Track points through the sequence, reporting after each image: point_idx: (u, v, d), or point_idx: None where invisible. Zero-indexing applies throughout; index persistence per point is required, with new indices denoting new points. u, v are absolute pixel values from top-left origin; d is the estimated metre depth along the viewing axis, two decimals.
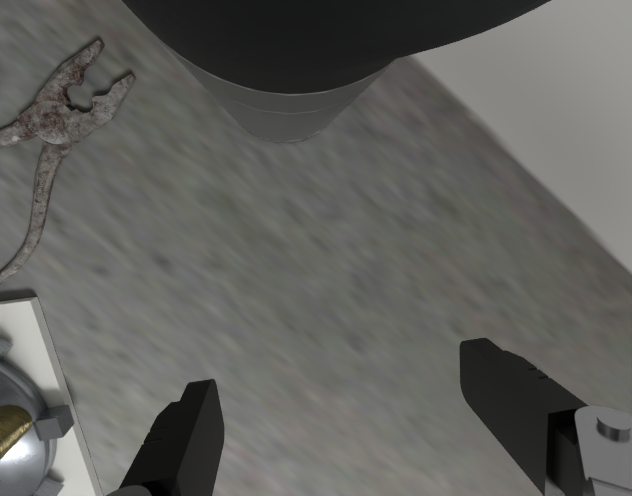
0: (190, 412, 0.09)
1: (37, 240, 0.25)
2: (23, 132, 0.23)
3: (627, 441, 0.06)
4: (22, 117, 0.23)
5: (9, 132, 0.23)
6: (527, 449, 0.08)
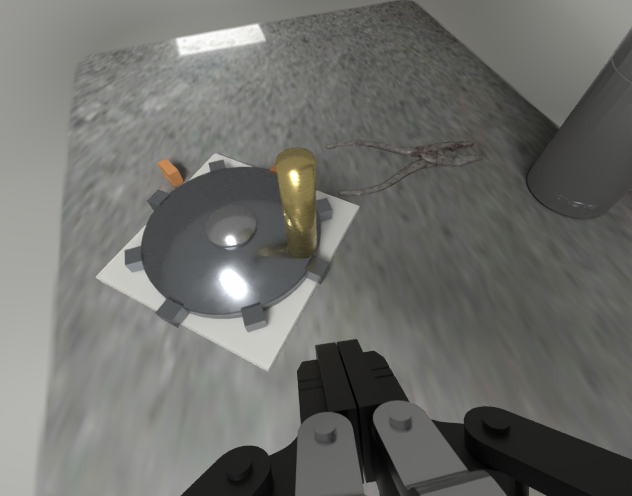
0: (334, 365, 0.10)
1: (383, 188, 0.40)
2: (415, 151, 0.43)
3: (402, 431, 0.07)
4: (419, 147, 0.43)
5: (408, 149, 0.43)
6: None
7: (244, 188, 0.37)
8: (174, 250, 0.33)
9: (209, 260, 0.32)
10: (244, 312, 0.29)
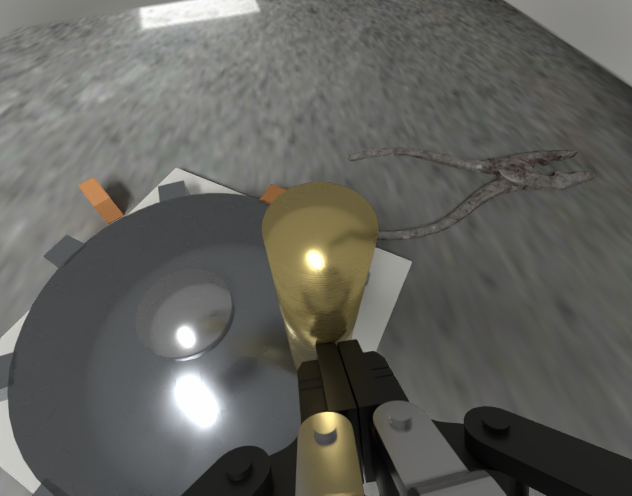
0: (334, 365, 0.10)
1: (446, 227, 0.25)
2: (488, 166, 0.28)
3: (402, 431, 0.07)
4: (494, 159, 0.28)
5: (477, 162, 0.28)
6: None
7: (216, 233, 0.21)
8: (75, 362, 0.17)
9: (140, 385, 0.16)
10: None
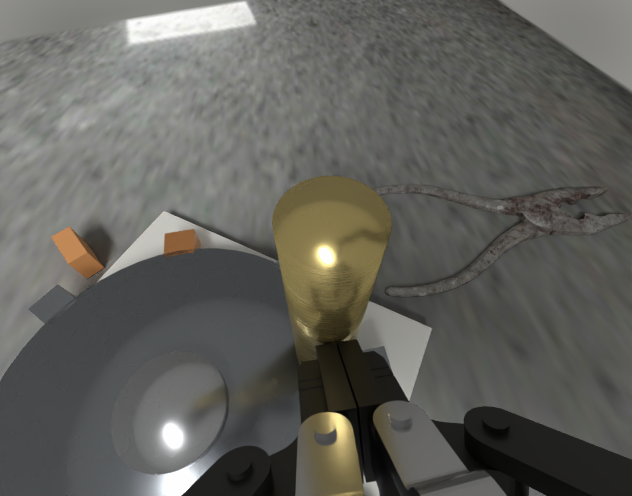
0: (334, 365, 0.10)
1: (467, 281, 0.22)
2: (510, 207, 0.25)
3: (402, 431, 0.07)
4: (516, 199, 0.25)
5: (497, 202, 0.25)
6: None
7: (141, 314, 0.18)
8: None
9: None
10: None
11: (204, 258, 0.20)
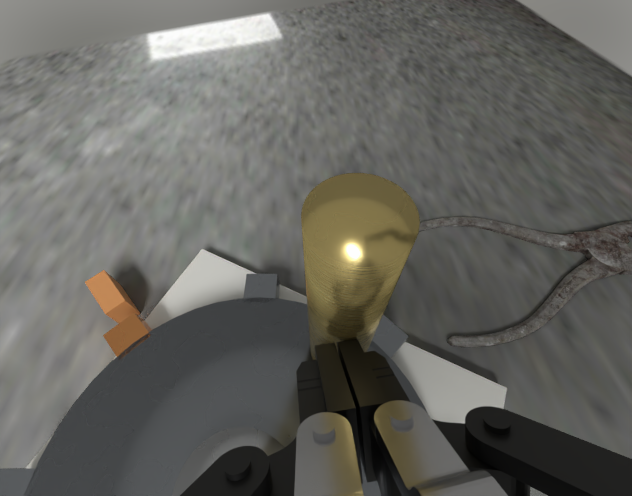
0: (333, 365, 0.10)
1: (536, 329, 0.20)
2: (574, 243, 0.23)
3: (403, 430, 0.07)
4: (580, 233, 0.24)
5: (560, 237, 0.24)
6: (359, 440, 0.09)
7: (135, 431, 0.15)
8: None
9: None
10: None
11: (167, 335, 0.18)
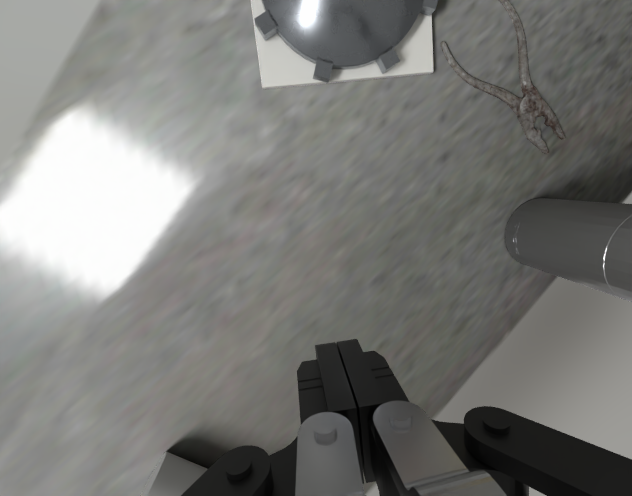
0: (334, 365, 0.10)
1: (467, 81, 0.40)
2: (527, 88, 0.41)
3: (402, 431, 0.07)
4: (535, 90, 0.41)
5: (528, 80, 0.41)
6: None
7: None
8: (300, 8, 0.35)
9: (336, 12, 0.35)
10: (382, 57, 0.37)
11: None
